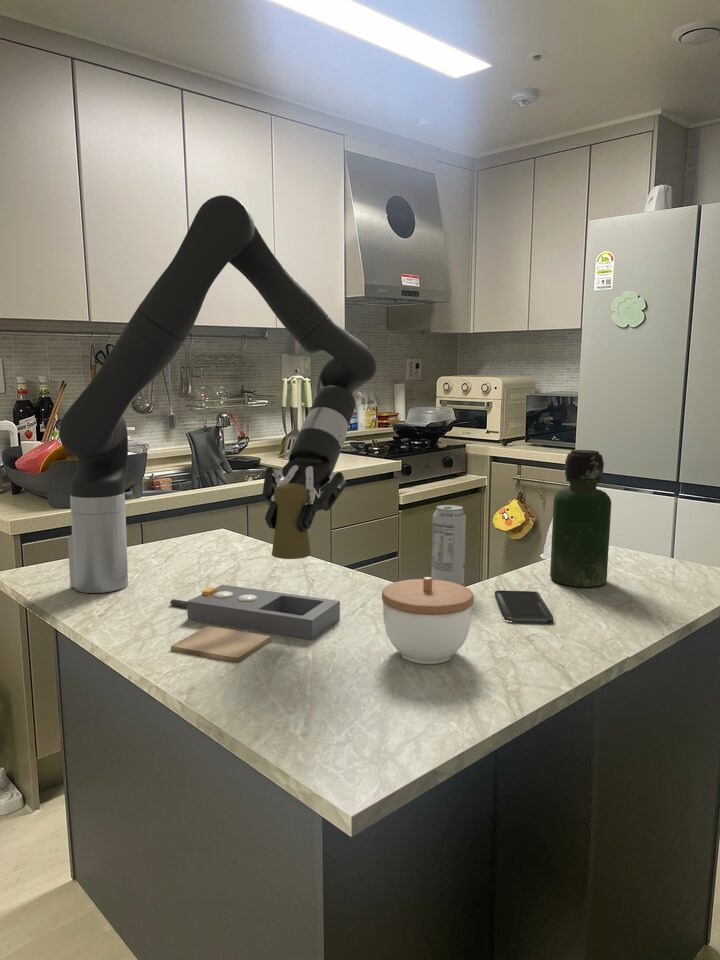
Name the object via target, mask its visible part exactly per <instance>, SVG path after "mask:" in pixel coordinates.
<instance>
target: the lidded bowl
mask: <svg viewBox="0 0 720 960" xmlns="http://www.w3.org/2000/svg"><path fill="white" fill-rule="evenodd" d="M474 596H475V595H474V593H473V591H472V590H471V589H470V588H469V587H466V586H465V585H463V584H462V585H460V584H456V583H453V582H448V581H442V580H432V578H431V576H424V577H423V578H417V579H416V578H414V579H413V578H412V579H405V580H399V581H396V582H392V583H390V584H388V585H386V586H384V587H383V589H382V591H381V600H382V616H383V625H384V629H385V633H386V636H387V638H388V639H389V641H390V643H391V644H392V646H393V647H394V648H395V649H396V650H397V651H398V652H399V653H400V656H401V657H402V658H403V659H404V660H406V661H408V662H411V663H415V664H420V665H438V664H439V665H440V664H443V663H447V662H449V661H450V660H451V659H452V657H453V655H455V654H456V653H457V652H458V651H459V650H460V649H461V648H462V646H463V645H464V643H465V642H466V640H467V638H468V635H469V633H470V629H471V623H472V620H473V619H472V618H473V605H474Z"/></svg>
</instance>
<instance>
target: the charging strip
mask: <svg viewBox="0 0 720 960" xmlns="http://www.w3.org/2000/svg"><path fill="white" fill-rule="evenodd" d="M201 592H202V593H201V594H199V595H197V596H195V597H193V598H190V599H189V600H183V599H182V600H181V599H174V598H173V599H171V600H170V602H169V604H171V605H172V606H175V607H181V608H186V610H187V620H188V621H196V622H201V623H207V624H214V625H219V626H226V627H232V628H237V629H244V630H250V631H256V632H263V633H268V634H274V635H279V636H286V637H292V638H293V637H294V638H298V639H299V638H300V639H306V640H309V641H310V640H311V641H313V640H314V639H316V637H319V635H321V634H323V632H324V631H326V630H327V629H329V628H330V627H332V626H333V625H334V624H336V623H337V621H339V620H341V601H340V600H336V599H335V600H334V599H328V598H323V597H322V598H321V597H314V596H308V595H299V594H294V593H286V592H277V591H271V590H264V589H258V588H257V589H256V588H250V587H249V588H248V587H241V586H235V585H227V584H221V585H219V586H217V587H208V588H206V589H204V590H203V591H201Z"/></svg>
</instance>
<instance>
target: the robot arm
mask: <svg viewBox="0 0 720 960" xmlns="http://www.w3.org/2000/svg"><path fill="white" fill-rule="evenodd" d="M228 263H229V264H230V265H232V266H233V267H234V268H235V269H236V270H238V272H240V273H241V274H242V275H243V276H244V277H245V278H246V279H247V280H248V282H249V283H250V284H251V285H252V286H253V288H255V289H256V290H257V292H258V293H259V295H260V296H261V297H262V299H263V300H264V301H265V302H266V304H267V305H268V307H269V308H270V310H271V311H272V312H273V314H274V315H275V316H276V318H277V319H278V320H279V322H280V323H281V324H282V325H283V327H285V329H286V330H287V331H288V333H289V334H290V335H291V336H292V338H294V339H295V340H296V342H297V343H298V344H299V345H300V346H301V347H302V349H303V350H305V352H307V353H309V354H315V353H319V352H325V353H327V354H328V355H330V356H332V357H331V358H330V359H329V360H327V362H326V363H325V364H324V366H323V368H322V369H321V372H320V374H319V376H318V382H317V386H316V387H317V388H316V397H315V398H314V400H313V403H312V405H311V407H310V410H309V412H308V414H307V416H306V417H305V419H304V420H303V422H302V425H301V427H300V429H299V431H298V434H297V436H296V439H295V441H294V443H293V445H292V448H291V450H290V452H289V457H288V462H287V463H286V464H285V465H284V466H283V467H282V468H281V469H275V470H274V469H273V467H267V468H266V469H265V472H264V479H263V480H264V481H263V482H264V483H263V488H262V494H261V495H262V497H263V498H264V500H265V502H266V504H267V505H268V506H269V507H268V509H267V511H266V514H265V516H264V520H265V522H266V525H267V526H268V528H269V529H272V530H275V525H276V517H277V509H278V505H277V503H276V502H275V499H274V492H275V489H276V487H277V486H279V485H282V484H286V483H296V484H301V485H304V486H305V487H306V489H307V491H308V498H307V502H306V504H305V505H304V506H303V509H302V512H301V514H300V517H299V519H298V522H297V527H298V529H299V530H300V532H306V530H307V529H308V530H309V529H310V528H311V527H312V524H313V521H314V518H315V516H316V514H317V513H318V512H319V511H322V510H323V511H324V512H327V511H329V510H330V509H332V507H333V506H334V504H335V503H336V501H337V499H338V498H339V497H340V496H341V494H342V493H343V491H344V489H345V488H346V486H347V481H346V478H345V476H344V474H343V473H342V472H340V471H339V472H337V473H335V472H334V470H335V468H336V465H337V462H338V461H339V460H338V459H339V458H340V454H341V452H342V448H343V447H344V446H345V445H344V444H345V441H346V438H347V432H348V429H349V426H350V424H351V421H352V418H353V416H354V413H355V408H356V400H355V397H354V395H353V393H354V392H356V390H358V389H359V388H360V387H362V386H363V385H365V384H366V383H368V382H369V381H370V380H372V379H373V377H374V376H375V375H376V372H377V362H376V359H375V357H374V354H373V352H372V350H370V348H369V347H368V346H367V345H366V344H365V343H363V342H362V341H361V340H360V339H358V338H356V336H353V335H352V334H351V333H349V332H348V331H347V330H346V329H344V328H343V327H341V326H339V325H338V324H336V323H335V322H334V320H332V318H331V317H330V316H329V314H328V313H327V312H326V311H325V310H324V309H323V307H322V306H321V305H320V304H319V303H318V302H317V300H316V299H315V298H314V297H313V296H312V295H311V294H310V293H309V292H308V291H307V289H306V288H305V287H304V286H303V285H302V284H301V283H300V282H299V281H298V280H297V279H296V278H295V277H294V276H293V275H292V274H291V273H290V272H289V271H288V269H286V267H285V266H284V265H282V263H281V262H280V261H279V260H278V258H277V257H276V256H275V254H274V252H272V250H271V249H270V247H269V246H268V245H267V243H266V241H265V240H264V238H263V236H262V235H261V233H260V231H259V229H258V227H257V226H256V224H255V222H254V219H253V216H252V214H251V213H250V212H249V210H248V208H247V207H246V206H245V205H244V203H242V201H240V200H239V199H237V198H236V197H234V196H230V195H225V194H223V195H215V196H214V197H211V198H209V199H208V200H206V201H205V202H203V204H202V205H201V206H200V207H199V209H197V211H196V214H195V216H194V218H193V219H192V222H191V225H190V226H189V228H188V230H187V232H186V235H185V236H184V239H183V241H182V243H181V244H180V246H179V248H178V250H177V252H176V254H175V255H174V256H173V259H172V260H171V262H170V263H169V264H168V266H167V267H166V269H164V271H163V272H162V273H161V275H160V276H159V278H158V279H157V280H156V281H155V282H154V284H153V286H152V287H151V289H150V290H149V292H148V293H147V294H146V295H145V297H144V299H143V300H142V301H141V303H140V304H139V305H138V307H137V308H136V310H135V312H134V313H133V315H132V316H131V317H130V319H129V321H128V323H127V324H126V325H125V327H124V329H123V330H122V332H121V334H120V336H119V338H118V339H117V340H116V342H115V344H114V345H113V347H112V348H111V350H110V352H109V353H108V354H107V357H106V358H105V360H104V362H103V363H102V365H101V367H100V369H99V370H98V371H97V373H96V374H95V376H94V377H93V379H92V380H91V381H90V382H89V383H88V385H87V386H86V387H85V389H84V390H83V391H82V392H81V394H80V395H79V396H78V397H77V399H75V400H74V402H73V404H72V405H70V407H69V408H68V409H67V411H66V412H65V413H64V415H63V417H62V419H61V421H60V424H59V428H58V430H59V431H58V432H59V433H58V437H59V441H60V443H61V446H62V447H63V449H64V450H65V451H66V452H67V453H68V454H70V455H72V456H75V457H77V465H76V469H75V472H74V474H73V475H72V477H71V479H69V480H70V481H69V497H70V498H69V500H70V501H69V502H70V517H71V519H70V521H71V534H70V535H68V537H67V542H68V543H67V545H68V549H67V550H68V565H69V583H70V584H69V585H70V586H69V587H70V588H73V589H75V591H77V592H81V593H85V594H102V593H110V592H114V591H118V590H122V589H124V588H126V587H127V586H128V585H129V571H128V567H129V566H128V545H127V543H128V541H127V540H128V539H127V519H126V495H125V491H126V490H125V483H126V479H127V477H128V473H129V472H128V471H129V470H128V469H129V439H128V438H129V436H128V428H127V423H126V420H125V418H124V416H123V415H124V413H125V411H126V410H127V408H128V406H129V405H130V404H131V402H132V401H133V400H134V398H135V397H136V396H137V395H138V394H139V393H140V392H141V391H142V390H143V389H144V388H145V387H147V386H148V384H150V383H151V382H152V381H153V380H154V379H155V378H156V377H157V376H158V375H160V374H161V372H163V370H164V369H165V368H167V366H168V365H169V363H170V362H171V361H172V360H173V359H174V357H175V356H176V355H177V353H178V351H179V350H180V349H181V347H182V345H183V344H184V342H185V341H186V339H187V338H188V336H189V334H190V332H191V331H192V328H193V327H194V325H195V323H196V320H197V319H198V316H199V314H200V311H201V309H202V306H203V303H204V301H205V299H206V296H207V295H208V292H209V290H210V288H211V286H212V284H213V283H214V282H215V280H216V279H217V277H218V276H219V275H220V273H221V272H222V271H223V269H224V268H225V267H226V266H227V264H228ZM282 478H283V479H282ZM281 479H282V481H281ZM324 486H326V487H325V488H324V490H322V492H321V489H322V488H323V487H324Z"/></svg>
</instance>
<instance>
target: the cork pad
mask: <svg viewBox="0 0 720 960" xmlns="http://www.w3.org/2000/svg"><path fill="white" fill-rule="evenodd" d="M270 641H272V636H271V635H266V634H261V633H254V632H249V631H241V630H236V629H235V630H234V629H229V628H224V627H220V626H219V627H218V626H211V625H206V626H205V627H202V628H201V629H198V631H195V632H194V633H192V634H190V635H188V636H186V637H184V638H183V639H181V640H179V641H178V642H176V643H174V644H172V645H171V646H170V650H171V651H175V652H180V653H186V654H191V655H195V656H201V657H207V658H213V659H218V660H224V661H229V662H234V663H239V662H241V661H242V660H244V659H245V658H247V657H248V656H250V655H251V654H252V653H254V652H255V651H257V650H258V649H260V648H262V647H263V646H264V645H266V644H268V643H269V642H270Z"/></svg>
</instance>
